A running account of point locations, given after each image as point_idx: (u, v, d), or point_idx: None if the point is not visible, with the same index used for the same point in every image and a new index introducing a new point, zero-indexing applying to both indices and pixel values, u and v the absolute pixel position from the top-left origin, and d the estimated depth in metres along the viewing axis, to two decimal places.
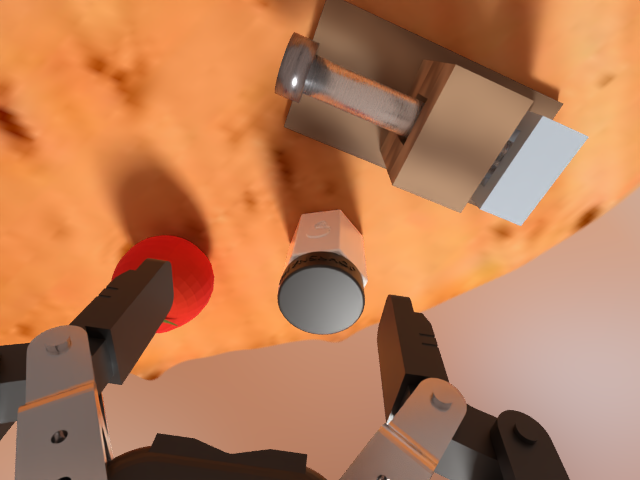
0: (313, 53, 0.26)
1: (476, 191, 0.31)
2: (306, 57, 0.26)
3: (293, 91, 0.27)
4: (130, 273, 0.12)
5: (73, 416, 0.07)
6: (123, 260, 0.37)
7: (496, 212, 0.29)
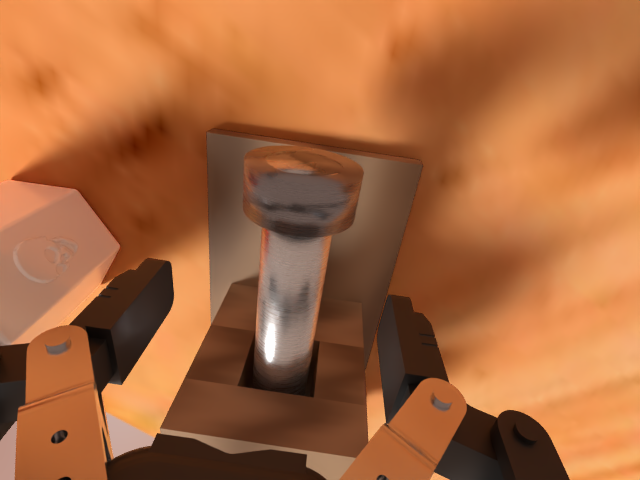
0: (335, 231, 0.13)
1: None
2: (325, 225, 0.13)
3: (256, 209, 0.13)
4: (130, 273, 0.12)
5: (73, 416, 0.07)
6: None
7: None
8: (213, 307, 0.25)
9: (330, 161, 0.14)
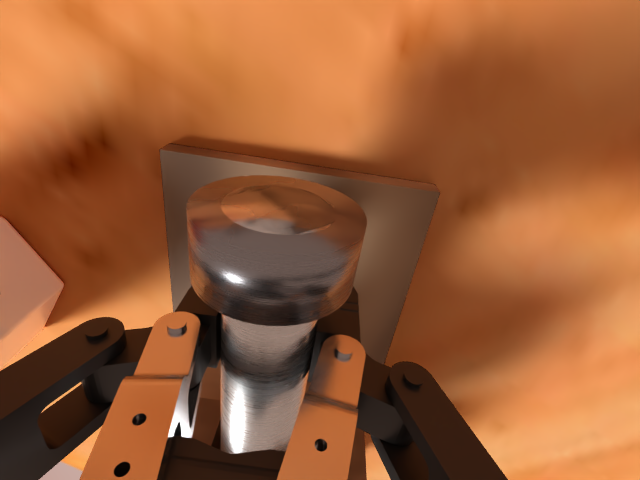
0: (325, 313, 0.09)
1: None
2: (309, 307, 0.08)
3: (204, 283, 0.08)
4: None
5: (156, 404, 0.07)
6: None
7: None
8: None
9: (319, 202, 0.10)
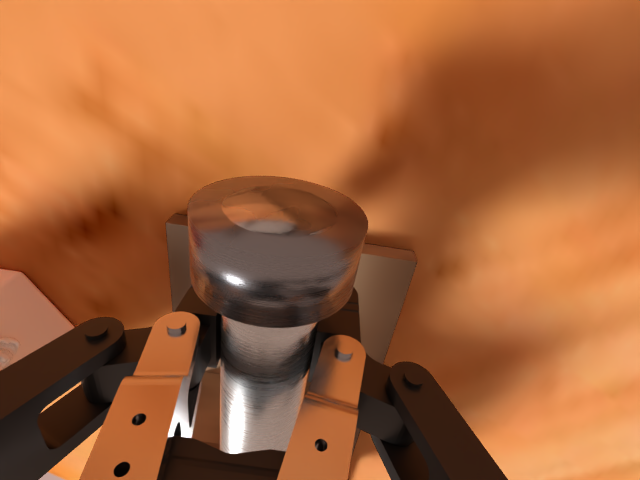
0: (326, 315, 0.09)
1: None
2: (310, 310, 0.08)
3: (205, 285, 0.08)
4: None
5: (156, 403, 0.07)
6: None
7: None
8: None
9: (320, 204, 0.10)
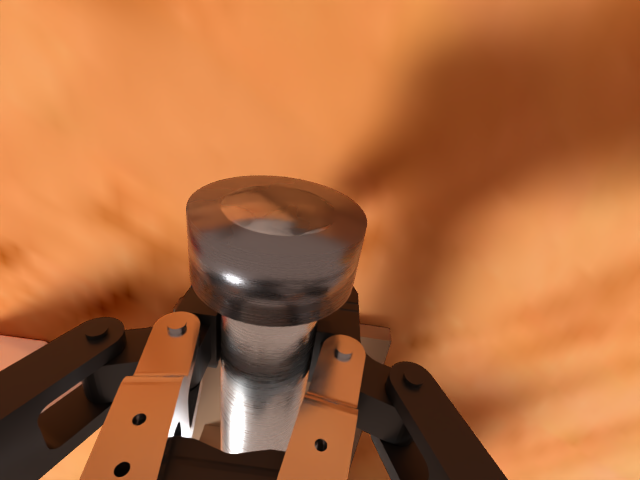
0: (325, 313, 0.09)
1: None
2: (309, 308, 0.08)
3: (204, 284, 0.08)
4: None
5: (156, 404, 0.07)
6: None
7: None
8: None
9: (318, 203, 0.10)
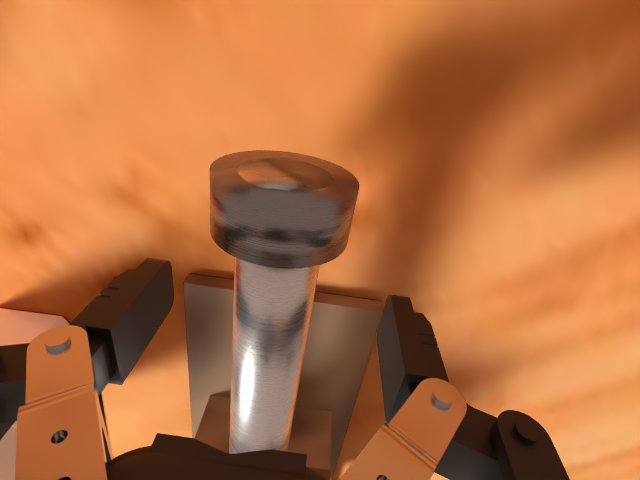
0: (324, 260, 0.11)
1: None
2: (312, 253, 0.10)
3: (225, 234, 0.10)
4: (130, 273, 0.12)
5: (73, 416, 0.07)
6: None
7: None
8: (193, 412, 0.27)
9: (318, 172, 0.12)
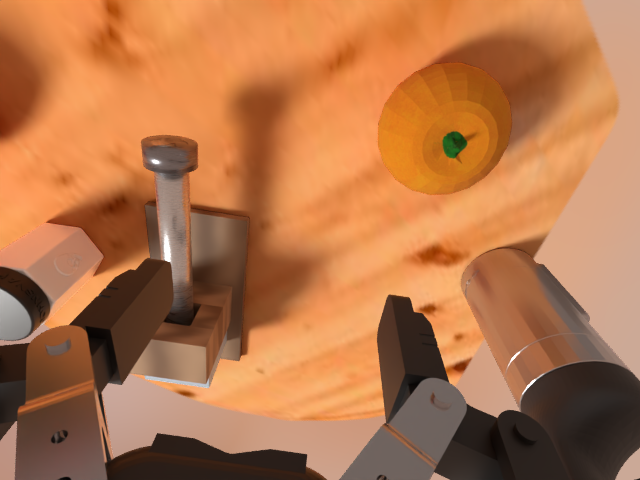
0: (181, 172, 0.31)
1: None
2: (175, 168, 0.30)
3: (146, 162, 0.30)
4: (130, 273, 0.12)
5: (73, 416, 0.07)
6: None
7: None
8: None
9: (183, 142, 0.32)
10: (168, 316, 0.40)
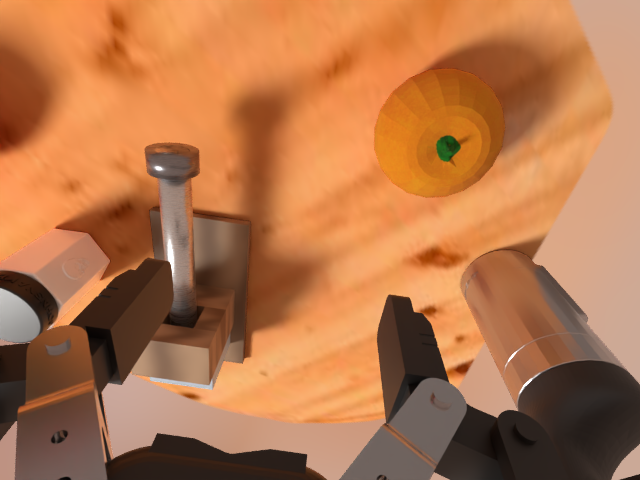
0: (183, 178, 0.32)
1: None
2: (177, 175, 0.31)
3: (149, 168, 0.31)
4: (130, 273, 0.12)
5: (73, 416, 0.07)
6: None
7: None
8: None
9: (185, 149, 0.33)
10: (172, 318, 0.41)
